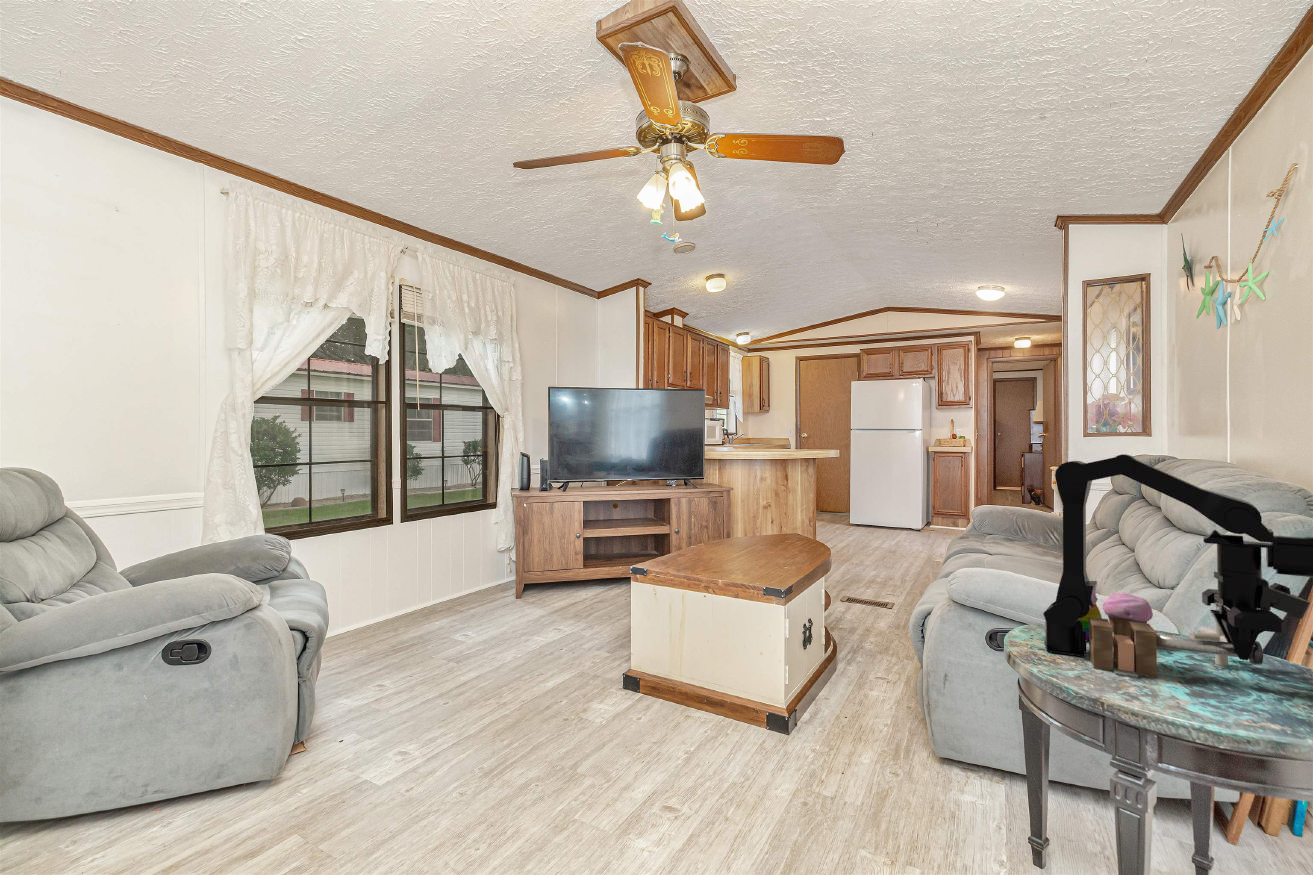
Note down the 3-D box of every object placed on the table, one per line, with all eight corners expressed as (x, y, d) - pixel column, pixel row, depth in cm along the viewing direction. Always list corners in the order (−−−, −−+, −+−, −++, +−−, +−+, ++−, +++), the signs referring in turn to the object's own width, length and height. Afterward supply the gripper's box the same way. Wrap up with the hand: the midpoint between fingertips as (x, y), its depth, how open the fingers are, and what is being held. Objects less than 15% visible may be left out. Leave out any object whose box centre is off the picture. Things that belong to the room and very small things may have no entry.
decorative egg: (1049, 632, 137) (1048, 588, 137) (1081, 630, 138) (1080, 587, 138) (1078, 643, 128) (1077, 597, 129) (1112, 641, 129) (1111, 596, 130)
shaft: (1139, 651, 112) (1139, 630, 112) (1135, 645, 116) (1135, 624, 116) (1263, 667, 104) (1262, 644, 104) (1254, 660, 107) (1254, 638, 107)
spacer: (1118, 669, 113) (1118, 642, 113) (1113, 660, 118) (1113, 634, 118) (1134, 671, 112) (1134, 644, 112) (1128, 662, 117) (1128, 636, 117)
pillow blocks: (1093, 668, 115) (1093, 625, 115) (1089, 658, 120) (1088, 617, 120) (1157, 677, 110) (1156, 632, 110) (1149, 666, 115) (1148, 623, 115)
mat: (1115, 674, 111) (1115, 673, 111) (1106, 657, 120) (1106, 656, 120) (1138, 677, 110) (1138, 676, 110) (1127, 660, 119) (1127, 658, 119)
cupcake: (1100, 630, 137) (1099, 587, 137) (1148, 636, 133) (1147, 591, 133) (1106, 641, 129) (1105, 596, 130) (1157, 648, 125) (1156, 600, 125)
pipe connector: (1272, 675, 110) (1271, 621, 110) (1210, 672, 112) (1209, 619, 112) (1232, 656, 120) (1231, 607, 120) (1175, 653, 122) (1174, 604, 122)
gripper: (1328, 586, 95) (1330, 684, 95) (1279, 564, 111) (1280, 648, 111) (1234, 578, 100) (1236, 671, 100) (1200, 559, 116) (1201, 639, 116)
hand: (1240, 656), depth 107 cm, fingers closed on shaft, 2 cm apart
